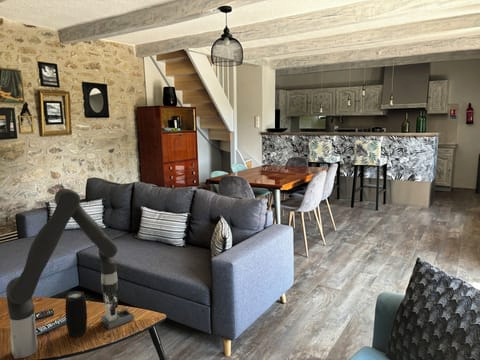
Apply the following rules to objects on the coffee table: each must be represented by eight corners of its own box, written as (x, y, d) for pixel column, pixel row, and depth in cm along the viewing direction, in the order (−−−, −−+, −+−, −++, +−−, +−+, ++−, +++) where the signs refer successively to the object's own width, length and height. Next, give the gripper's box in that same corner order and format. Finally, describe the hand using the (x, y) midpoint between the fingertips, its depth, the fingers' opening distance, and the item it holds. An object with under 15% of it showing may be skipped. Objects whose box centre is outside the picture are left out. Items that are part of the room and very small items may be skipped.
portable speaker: (91, 329, 177) (89, 291, 174) (78, 339, 168) (76, 300, 165) (76, 326, 179) (74, 289, 177) (62, 337, 170) (60, 297, 168)
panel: (109, 329, 177) (108, 324, 177) (101, 321, 184) (100, 316, 184) (134, 320, 186) (133, 315, 185) (125, 312, 193) (125, 307, 193)
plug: (109, 326, 180) (108, 307, 179) (105, 323, 183) (104, 304, 182) (119, 322, 184) (118, 304, 182) (115, 319, 186) (114, 301, 185)
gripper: (96, 278, 182) (97, 310, 185) (107, 287, 172) (109, 321, 174) (110, 274, 188) (112, 305, 190) (123, 283, 177) (124, 316, 180)
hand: (111, 313), depth 182 cm, fingers open, 4 cm apart
